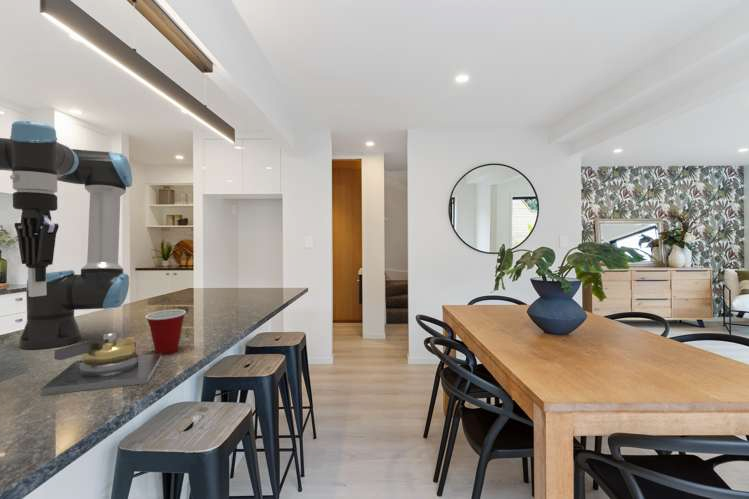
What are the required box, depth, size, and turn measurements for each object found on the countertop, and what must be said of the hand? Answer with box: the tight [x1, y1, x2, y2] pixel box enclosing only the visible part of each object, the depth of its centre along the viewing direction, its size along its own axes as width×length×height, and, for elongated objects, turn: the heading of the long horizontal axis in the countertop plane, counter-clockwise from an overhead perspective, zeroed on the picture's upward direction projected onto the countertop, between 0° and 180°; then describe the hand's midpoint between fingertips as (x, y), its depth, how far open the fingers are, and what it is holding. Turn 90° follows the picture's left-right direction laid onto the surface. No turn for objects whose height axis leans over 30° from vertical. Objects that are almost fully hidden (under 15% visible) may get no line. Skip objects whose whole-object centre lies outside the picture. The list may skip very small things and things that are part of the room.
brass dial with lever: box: [54, 331, 137, 364], centre depth 90 cm, size 18×11×6 cm, turn 165°
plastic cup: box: [144, 308, 187, 355], centre depth 113 cm, size 11×11×12 cm
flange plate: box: [40, 352, 163, 396], centre depth 93 cm, size 20×20×4 cm
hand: (37, 295), depth 86 cm, fingers closed
